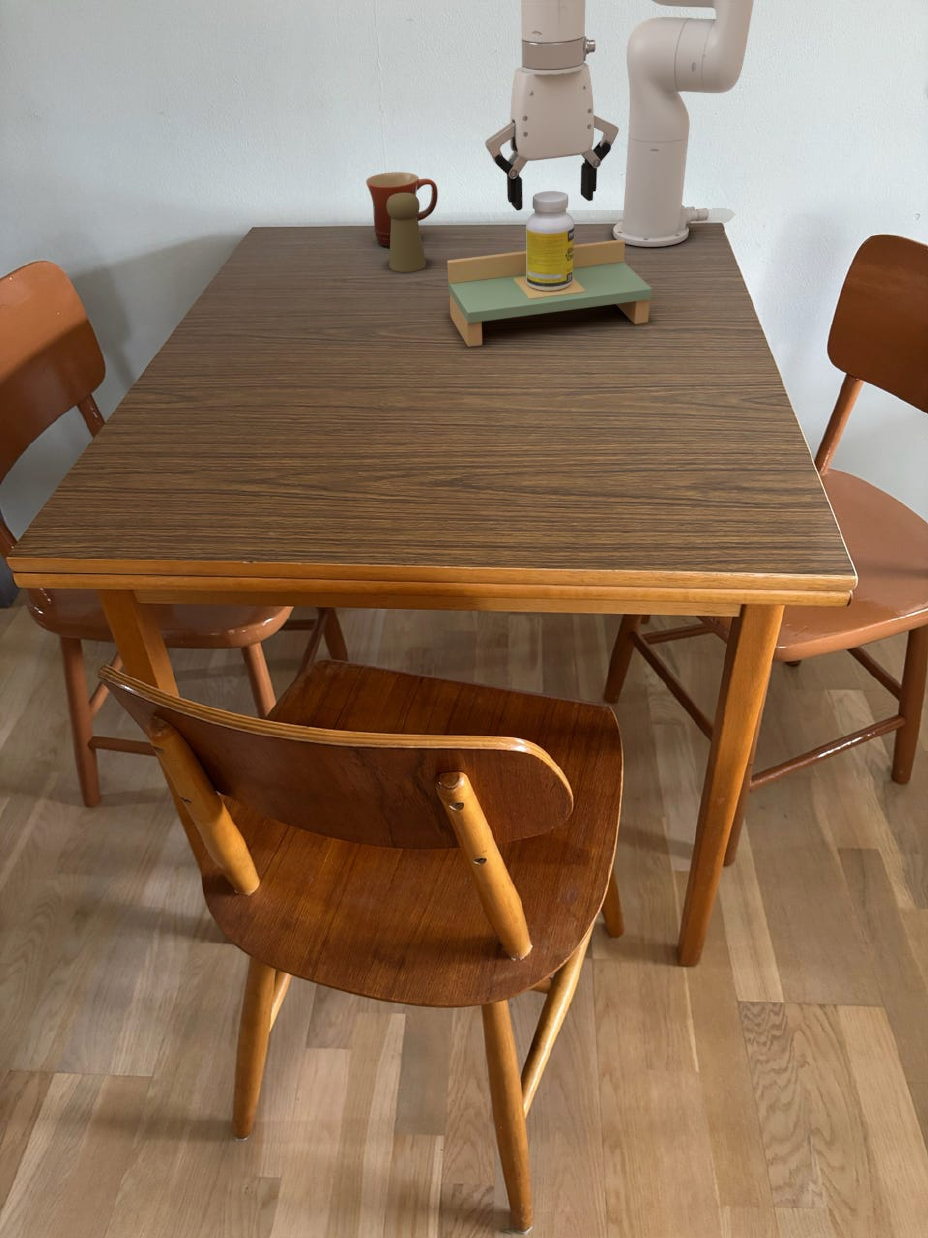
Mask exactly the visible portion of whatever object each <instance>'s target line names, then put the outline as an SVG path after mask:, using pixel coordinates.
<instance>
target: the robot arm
mask: <svg viewBox="0 0 928 1238" xmlns="http://www.w3.org/2000/svg"><path fill="white" fill-rule="evenodd" d="M651 1H652V2H653V3H655V4H657V5H660V6H667V7H678V8H705V9H707V8H709V9H710V8H711V9H714V10H715V18H697V17H696V18H693V17H677V16H676V17H675V16H659V17H653V18H648V19H646V20H644V21H642V22H641V23H638V24H637V25H636V26H635V28H634V29H633V31H632V32H631V34H630V36H629V39H628V41H627V47H626V67H627V77H628V78H627V79H628V88H629V89H628V91H629V116H628V134H627V148H626V149H627V150H626V164H625V165H626V166H625V167H626V168H625V182H624V183H625V184H624V198H623V199H624V200H623V216H622V221H620V222H618V223H616V224H615V225H614V226H613V228H612V235H613V238H614V239H615V240H620V239H623V240H624V241H625V245H629V246H636V247H642V248H659V247H667V246H672V245H673V246H674V245H677V244H680V243H682V242H683V241H685V240H686V239H687V238H688V237H689V231H690V229H689V226H687V225H690V224H691V222H703V221H707V220H709V215H710V214H709V209H708V208H707V207H704V208H695V206H693V205H692V206H684V205H683V196H684V187H685V179H686V168H687V167H686V166H687V158H688V146H689V138H690V137H689V136H690V125H691V124H690V115H689V112H688V109H687V107H686V104H685V102H684V100H683V98H682V97H681V95H680V93H682V92H686V93H701V94H724V93H727V92H729V91H731V90H732V89H733V88H735V86H736V85H737V83H738V80H739V79H740V77H741V73H742V70H743V66H744V60H745V56H746V50H747V43H748V38H749V32H750V25H751V20H752V13H753V8H754V2H755V0H651ZM520 8H521V10H520V11H521V12H520V13H521V17H520V18H521V67H516V68H515V70H514V75H513V82H512V88H511V99H510V113H509V114H510V115H509V123H508V124H507V125H506V126H504V127H503V128H501V129H500V130H499V131H497V132H496V133H495V134H493V135H492V136H490V137H489V138H488V139H486V140H485V142H484V145H485V147H486V149H487V151H488V153H489V155H490V157H491V159H492V160H493V163H495V165H496V166H498V168H499V169H500V170H502V172H503V173H505V174H506V192H507V194H506V195H507V201H508V203H510V204H511V206H512V207H513V208H514V209H515V210H516V211H517V212H518V211H522V209H523V206H524V205H523V179H522V177H521V176H520V173H521V172H522V170H523V169H524V167H525V166H526V164H527V163H528V162H534V161H543V160H550V159H558V158H567V157H573V156H581V157H582V159H583V160H584V161H583V162H582V164H581V165H580V195H581V197H583V198H584V199H585V200H586V201H588V202H593V201H594V192H597V186H598V185H597V179H598V168H600V166H601V164H602V161H603V160H604V159H605V158H606V157H607V155H608V154H609V153H610V152H611V150H612V146H613V144H614V142H615V140H616V138H617V136H618V134H619V132H620V131H619V130H620V129H619V127H618V126H617V125H615V124H613V123H612V122H610V121H607V120H606V119H603V118H602V117H599V116H597V115H595V114H594V95H593V86H592V79H591V71H590V67H589V65H588V64H587V63H586V62H587V61H586V60H587V59H586V58H587V55H589V54H590V53H591V54H592V53H595V52H596V47H597V45H596V40H595V39H589V38H587V36H585V33H586V0H520ZM595 129H596V130H598V131H600V132H602V136H601V140H600V141H599V142H598V143H597V145H595V146H594V139H595ZM508 141H509V146H510V147H509V148H510V149H511V151H512V153H511V155H510V156H509V158H508V159H506V158H505V156H504V155H503V153H502V151H501V147H502V146H503V145H504V144H506V143H507V142H508ZM593 146H594V148H593ZM592 148H593V149H592Z"/></svg>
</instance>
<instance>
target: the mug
mask: <svg viewBox="0 0 928 1238" xmlns="http://www.w3.org/2000/svg"><path fill="white" fill-rule="evenodd" d="M365 183H366V186H367V188H368V191H369V194H370V198H371V203H372V213H373V214H372V215H373V225H374V226H373V227H374V232H375V237H376V241H377V243H378V244H380V245H381V246H382V247H384V248H389V249H390V236H391V217H390V215H389V214H388V211H387V206H386V205H387V201H388V198H389V197H390V196H392V195H393V194H397V193H412V194H414V195H416V196H417V192H418V191H419V190H420V189H421V188H422V187H423V186H427V185H429V186H430V188H431V197H430V203H429V204H428V206H427V207H426V208H425V209H424V210H421V211H419V213H418V215H417V220H418V222H419V221H422V220H425V219H426V218H427V217H429V216H431V214H432V213H434V211H435V209H436V206H437V203H438V197H439V194H438V193H439V192H438V185H437V184H436V182H435V180H432V179H430V178H419V176H418V175H417V174H414V173H410V172H404V171H403V172H400V171H399V172H398V171H397V172H384V173H379V174H374V175H372V176H370V177H368V178H366V181H365Z"/></svg>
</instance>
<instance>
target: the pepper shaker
mask: <svg viewBox="0 0 928 1238" xmlns="http://www.w3.org/2000/svg"><path fill="white" fill-rule="evenodd" d="M386 206H387V211H388V214H389V215H390V217H391V236H390V248H389V265H388V267H389V269H390V270H392V271H394V272H400V273H410V272H417V271H420V270H422V269H424V268H426V266H427V261H426V260H427V259H426V256H425V251H424V250H425V249H424V245H423V240H422V235H421V231H420V225H419V221H418V220H417V215H418V213H419V212H420V207H421V206H420V201H419V198H418V197H417V194H416V195H414V194H412V193H397V194H393V195H392V196H390V197H389V198H388V201H387V205H386Z"/></svg>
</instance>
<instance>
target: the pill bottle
mask: <svg viewBox="0 0 928 1238" xmlns="http://www.w3.org/2000/svg"><path fill="white" fill-rule="evenodd" d="M568 207H569V195H568V193H566V192H562V191H557V190H550V191H541V192H536V193H535V194H534V195H532V209H533V210H534V213H532V214H531V215H530V216H529V217H528V218H527V220H526V221H525V222H526V223H525V240H526V241H525V251H526V281H527V284H528V285H529V286H530V287H532V288H534V289H538V290H544V291H554V290H560V289H563V288H566V287H568V286H569V285H570V284H571V282H572V279H573V248H574V245H575V244H574V242H575V220H574V218H573V216H572V215H571V214H570V213H569V212H567V209H568Z"/></svg>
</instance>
